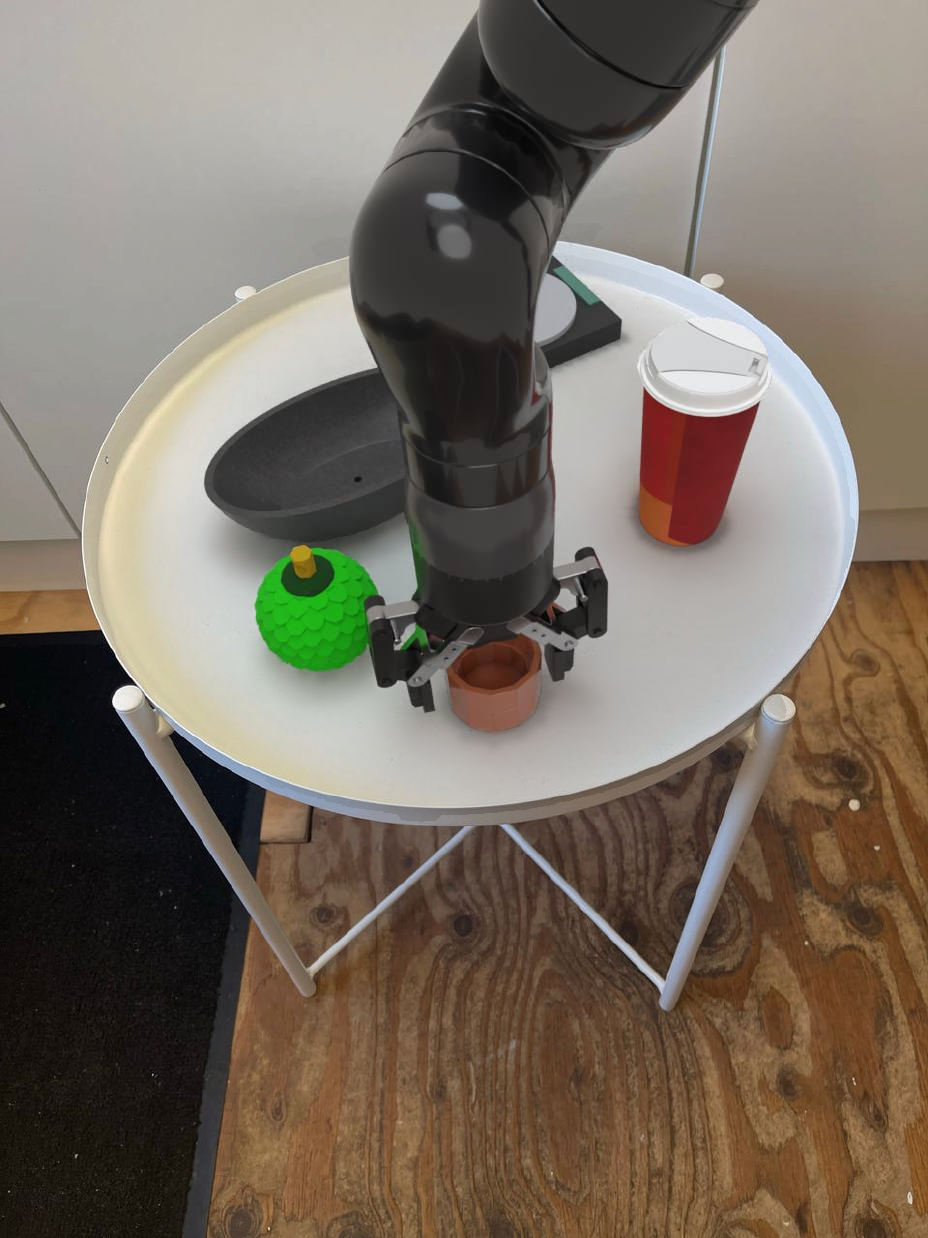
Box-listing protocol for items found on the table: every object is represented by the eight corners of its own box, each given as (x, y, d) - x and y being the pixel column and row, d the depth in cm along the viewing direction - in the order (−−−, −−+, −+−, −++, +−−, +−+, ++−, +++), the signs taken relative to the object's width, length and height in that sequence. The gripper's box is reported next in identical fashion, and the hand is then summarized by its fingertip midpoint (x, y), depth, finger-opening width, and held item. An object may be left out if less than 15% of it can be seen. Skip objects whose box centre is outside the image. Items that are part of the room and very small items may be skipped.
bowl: (522, 484, 75) (521, 424, 70) (261, 607, 69) (240, 552, 64) (445, 395, 81) (439, 335, 76) (201, 502, 76) (177, 444, 71)
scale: (548, 269, 91) (548, 244, 88) (620, 338, 84) (622, 313, 82) (425, 317, 87) (422, 293, 85) (491, 393, 81) (489, 368, 79)
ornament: (247, 664, 66) (207, 574, 58) (316, 582, 70) (288, 487, 62) (343, 714, 64) (315, 627, 56) (409, 626, 68) (392, 532, 59)
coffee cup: (748, 492, 73) (791, 328, 61) (717, 571, 69) (756, 412, 57) (642, 463, 75) (662, 299, 63) (605, 538, 71) (620, 378, 59)
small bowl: (525, 648, 66) (525, 604, 62) (551, 722, 62) (552, 681, 58) (440, 668, 65) (433, 626, 61) (461, 744, 62) (455, 704, 58)
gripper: (357, 605, 47) (395, 762, 60) (639, 541, 48) (615, 707, 61) (332, 495, 51) (372, 663, 64) (591, 439, 52) (578, 615, 65)
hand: (491, 685), depth 63 cm, fingers open, 8 cm apart
